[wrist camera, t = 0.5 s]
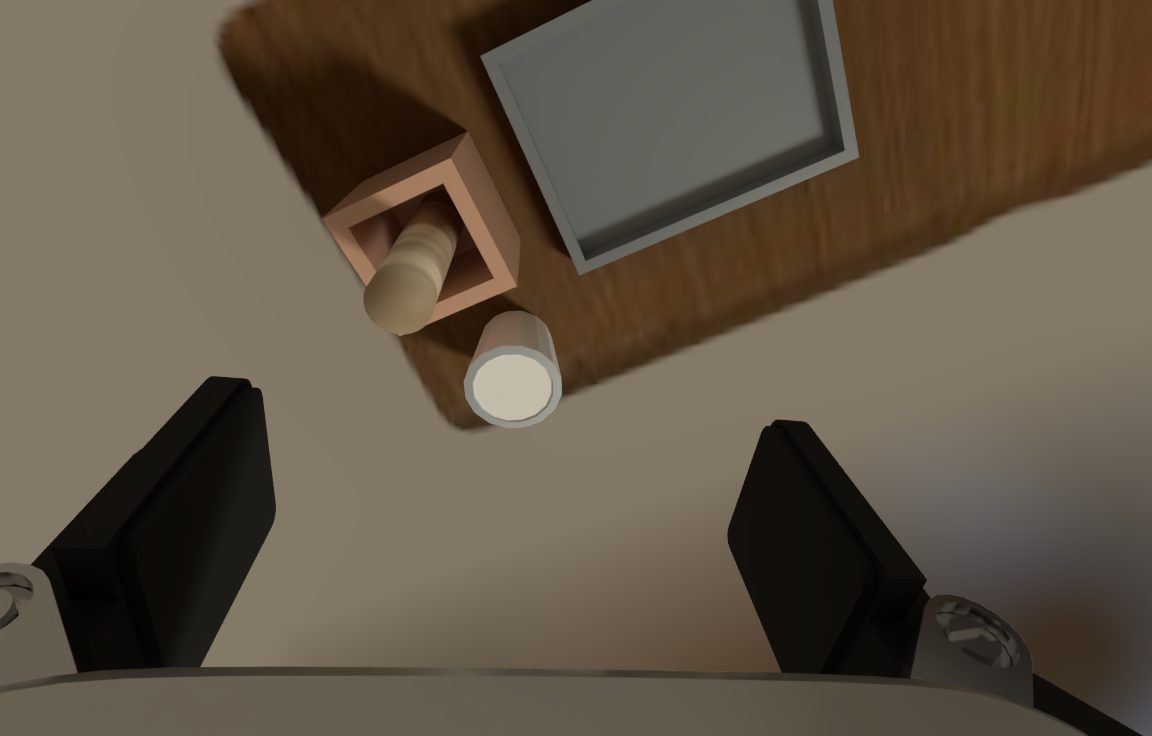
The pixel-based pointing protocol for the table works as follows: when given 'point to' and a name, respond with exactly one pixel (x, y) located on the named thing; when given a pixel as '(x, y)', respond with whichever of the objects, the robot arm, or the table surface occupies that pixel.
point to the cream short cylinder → (514, 372)
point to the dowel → (415, 267)
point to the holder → (394, 196)
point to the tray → (672, 112)
